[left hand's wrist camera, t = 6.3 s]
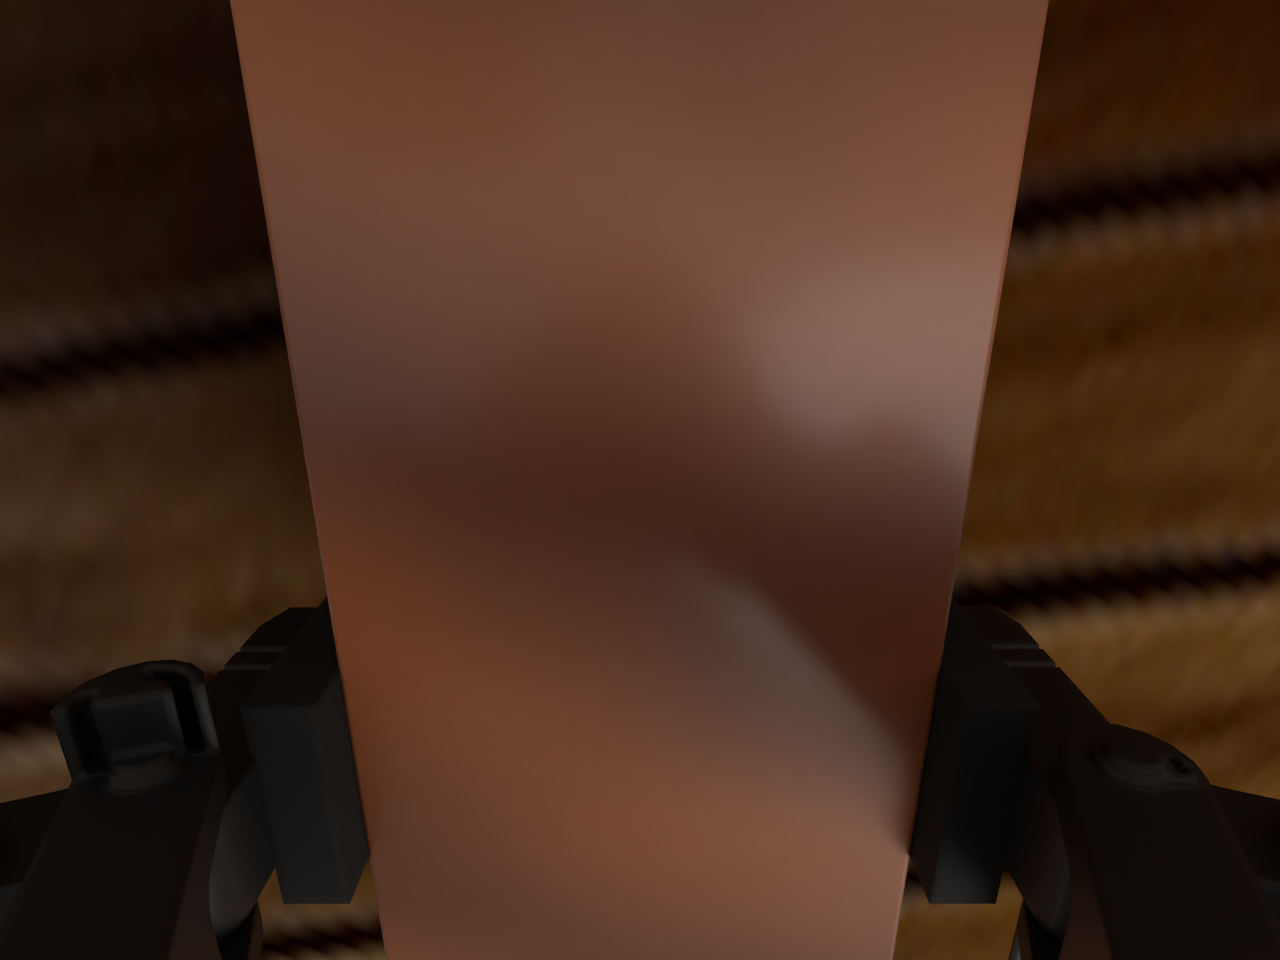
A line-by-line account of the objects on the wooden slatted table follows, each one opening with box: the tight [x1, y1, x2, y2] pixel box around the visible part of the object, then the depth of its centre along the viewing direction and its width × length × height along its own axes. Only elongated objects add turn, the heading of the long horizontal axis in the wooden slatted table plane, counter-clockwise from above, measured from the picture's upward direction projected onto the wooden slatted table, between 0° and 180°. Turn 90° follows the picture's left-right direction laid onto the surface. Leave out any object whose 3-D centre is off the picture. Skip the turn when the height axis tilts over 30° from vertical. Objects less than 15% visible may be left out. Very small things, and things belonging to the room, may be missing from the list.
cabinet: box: [230, 0, 1049, 960], centre depth 11 cm, size 17×7×9 cm, turn 0°
